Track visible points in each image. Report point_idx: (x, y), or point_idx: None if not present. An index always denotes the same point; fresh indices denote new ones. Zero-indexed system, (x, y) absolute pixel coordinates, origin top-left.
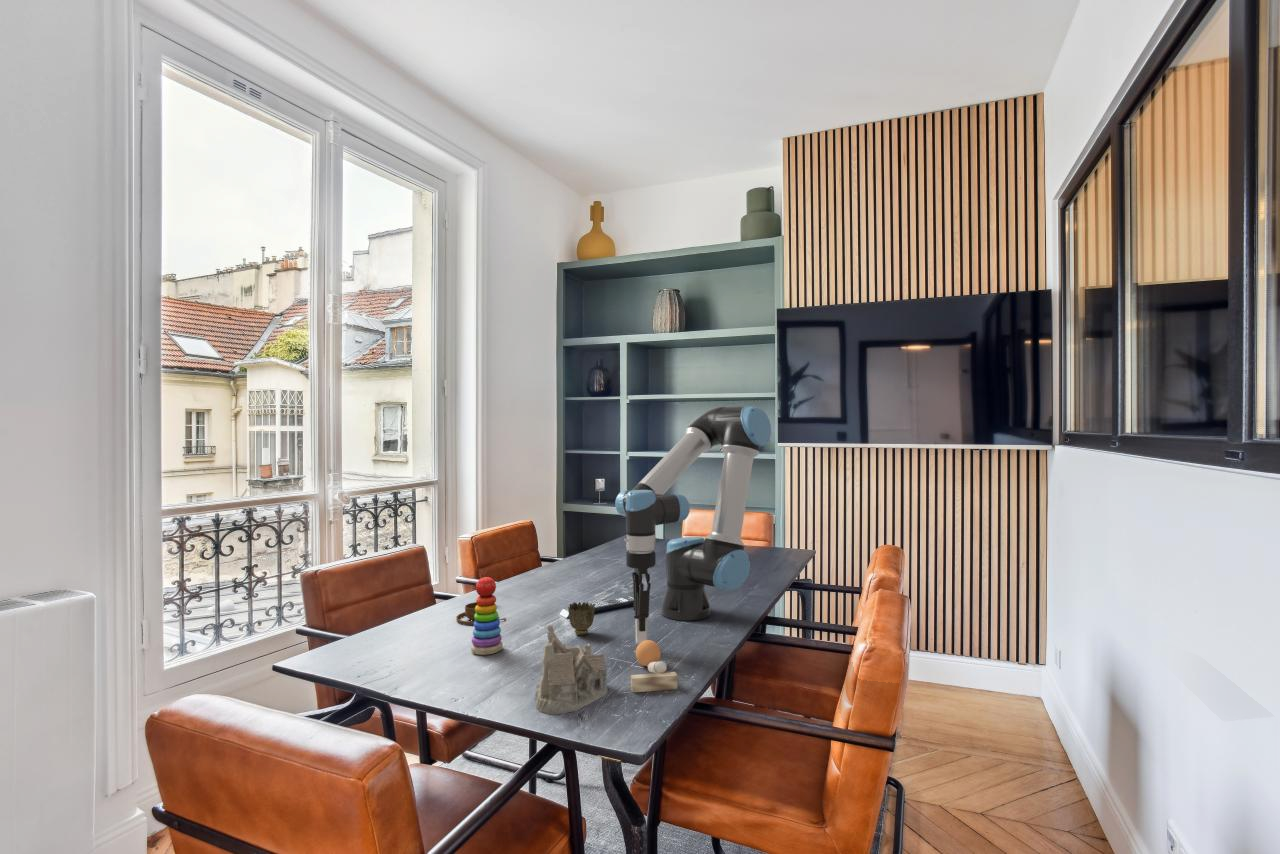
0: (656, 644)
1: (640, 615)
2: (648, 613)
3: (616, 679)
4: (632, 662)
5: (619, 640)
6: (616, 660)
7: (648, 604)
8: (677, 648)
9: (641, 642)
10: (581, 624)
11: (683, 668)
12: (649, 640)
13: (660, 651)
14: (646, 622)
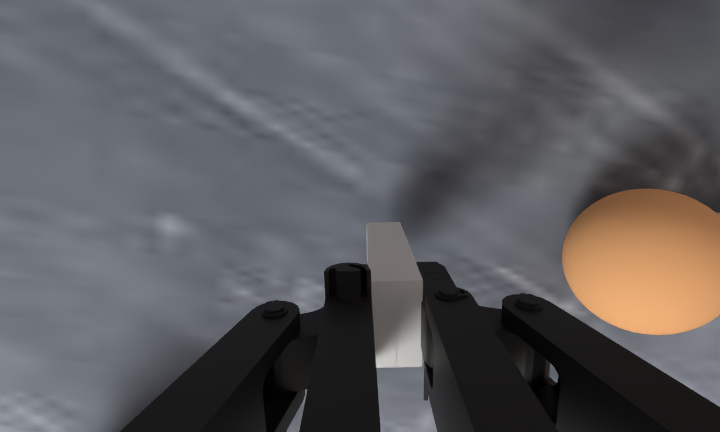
0: (713, 230)
1: (554, 385)
2: (573, 318)
3: (701, 388)
4: None
5: (228, 324)
6: None
7: (685, 395)
8: (394, 34)
9: (672, 324)
10: None
11: (690, 67)
12: (698, 279)
13: (678, 193)
14: (415, 267)
